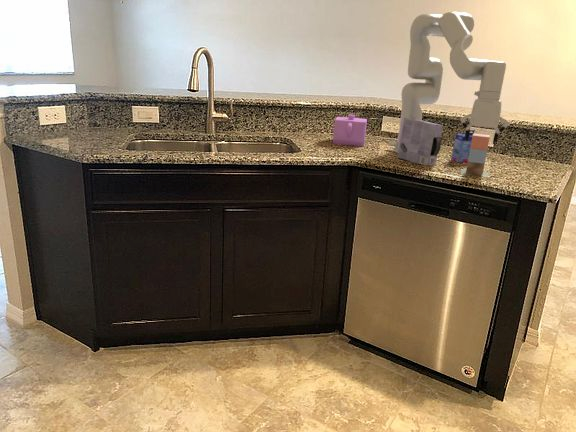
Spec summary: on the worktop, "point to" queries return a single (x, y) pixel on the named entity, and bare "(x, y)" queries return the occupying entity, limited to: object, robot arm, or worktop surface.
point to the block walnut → (475, 168)
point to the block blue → (477, 156)
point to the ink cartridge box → (461, 148)
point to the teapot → (349, 130)
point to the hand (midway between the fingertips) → (480, 141)
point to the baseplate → (475, 175)
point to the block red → (480, 141)
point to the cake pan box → (420, 141)
